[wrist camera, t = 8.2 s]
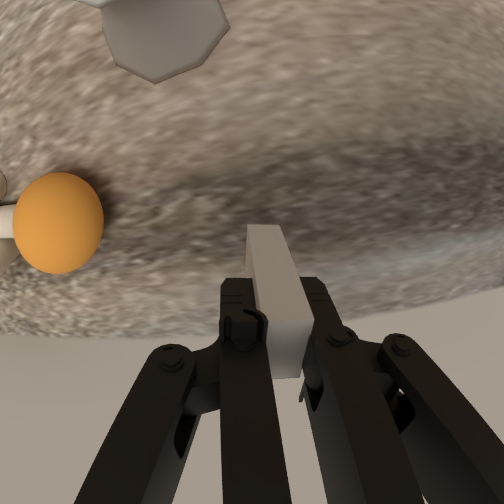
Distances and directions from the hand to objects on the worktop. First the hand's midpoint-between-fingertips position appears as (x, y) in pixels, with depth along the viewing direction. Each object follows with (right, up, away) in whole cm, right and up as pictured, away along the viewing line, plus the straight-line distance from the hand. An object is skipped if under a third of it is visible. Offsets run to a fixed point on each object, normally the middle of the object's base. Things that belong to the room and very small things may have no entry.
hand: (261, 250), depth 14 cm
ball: (-12, +2, +1) cm, 12 cm away
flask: (-5, +13, -1) cm, 14 cm away
